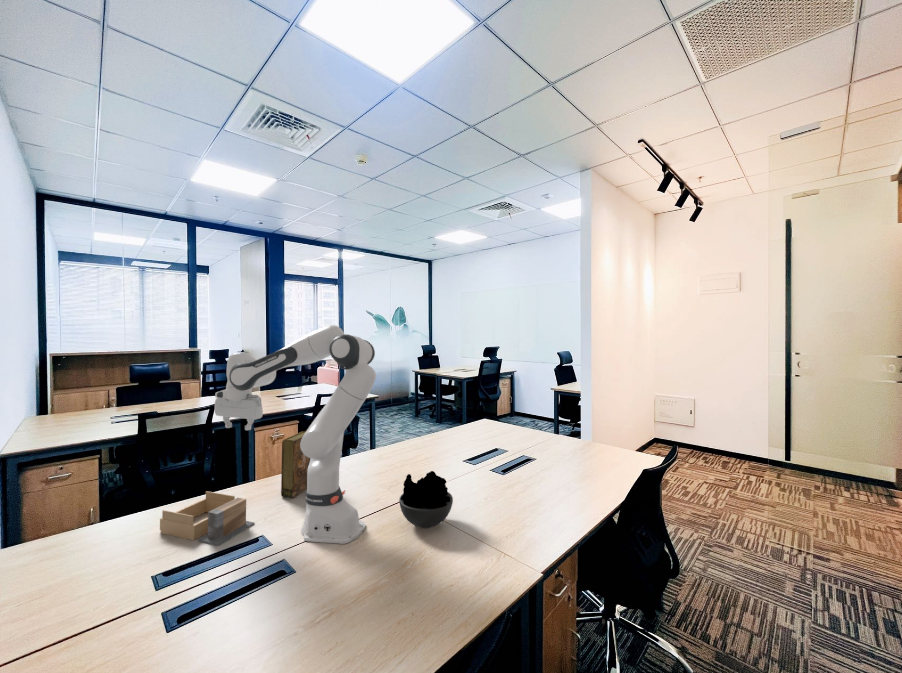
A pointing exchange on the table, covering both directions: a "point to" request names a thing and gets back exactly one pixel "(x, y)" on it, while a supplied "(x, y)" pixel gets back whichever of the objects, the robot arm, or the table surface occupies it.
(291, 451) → the book
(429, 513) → the coal bowl
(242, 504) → the capped box
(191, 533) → the carton
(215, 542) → the mat
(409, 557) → the table surface
